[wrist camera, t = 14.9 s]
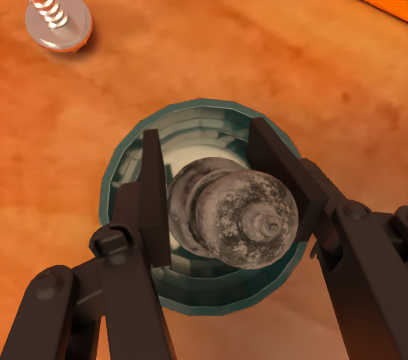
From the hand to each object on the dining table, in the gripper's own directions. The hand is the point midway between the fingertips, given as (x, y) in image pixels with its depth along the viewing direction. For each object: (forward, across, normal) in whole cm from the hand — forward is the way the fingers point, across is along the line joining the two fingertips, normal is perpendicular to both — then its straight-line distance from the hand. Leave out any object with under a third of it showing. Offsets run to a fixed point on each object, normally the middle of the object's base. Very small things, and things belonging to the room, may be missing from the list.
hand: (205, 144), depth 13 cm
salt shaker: (0, 0, -5) cm, 5 cm away
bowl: (+2, 0, -7) cm, 8 cm away
